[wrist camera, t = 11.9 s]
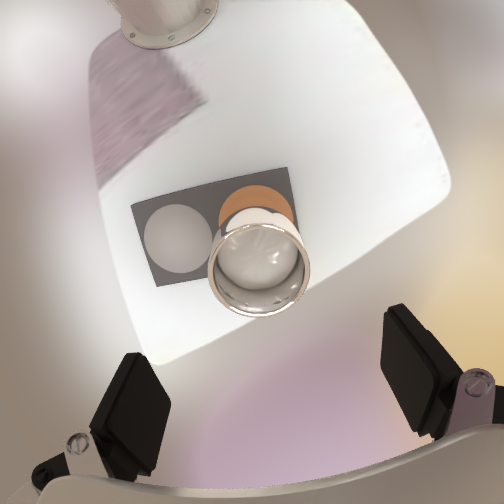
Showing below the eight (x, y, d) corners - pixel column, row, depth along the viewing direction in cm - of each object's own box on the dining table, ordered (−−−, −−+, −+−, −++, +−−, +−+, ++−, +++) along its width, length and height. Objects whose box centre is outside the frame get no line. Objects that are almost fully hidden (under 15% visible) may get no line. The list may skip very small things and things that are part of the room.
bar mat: (132, 204, 32) (130, 205, 31) (286, 167, 30) (287, 167, 30) (158, 284, 35) (156, 287, 34) (302, 256, 34) (303, 258, 33)
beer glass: (224, 249, 33) (206, 319, 19) (224, 190, 30) (202, 219, 16) (283, 250, 33) (307, 320, 19) (286, 191, 31) (318, 222, 16)
